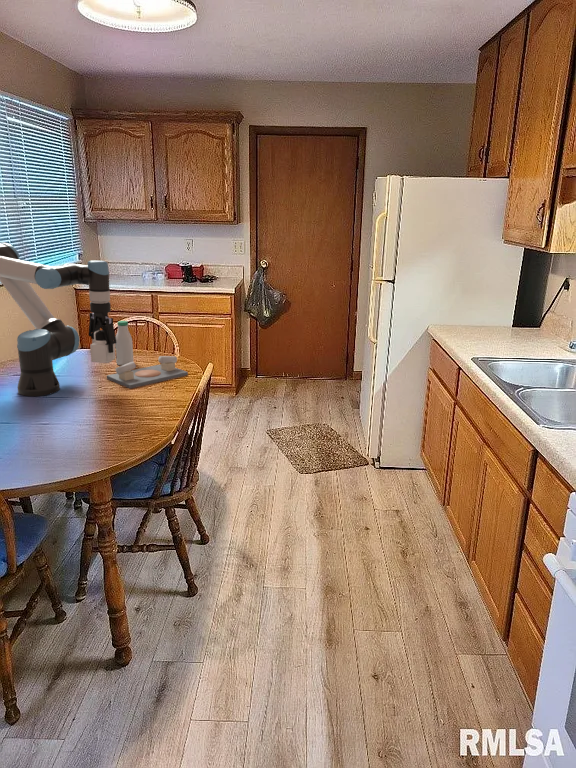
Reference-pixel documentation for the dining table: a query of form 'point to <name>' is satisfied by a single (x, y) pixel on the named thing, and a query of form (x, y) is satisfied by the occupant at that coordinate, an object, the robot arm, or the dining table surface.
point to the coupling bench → (147, 373)
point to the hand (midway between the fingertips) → (103, 357)
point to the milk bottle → (123, 344)
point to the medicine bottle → (99, 348)
